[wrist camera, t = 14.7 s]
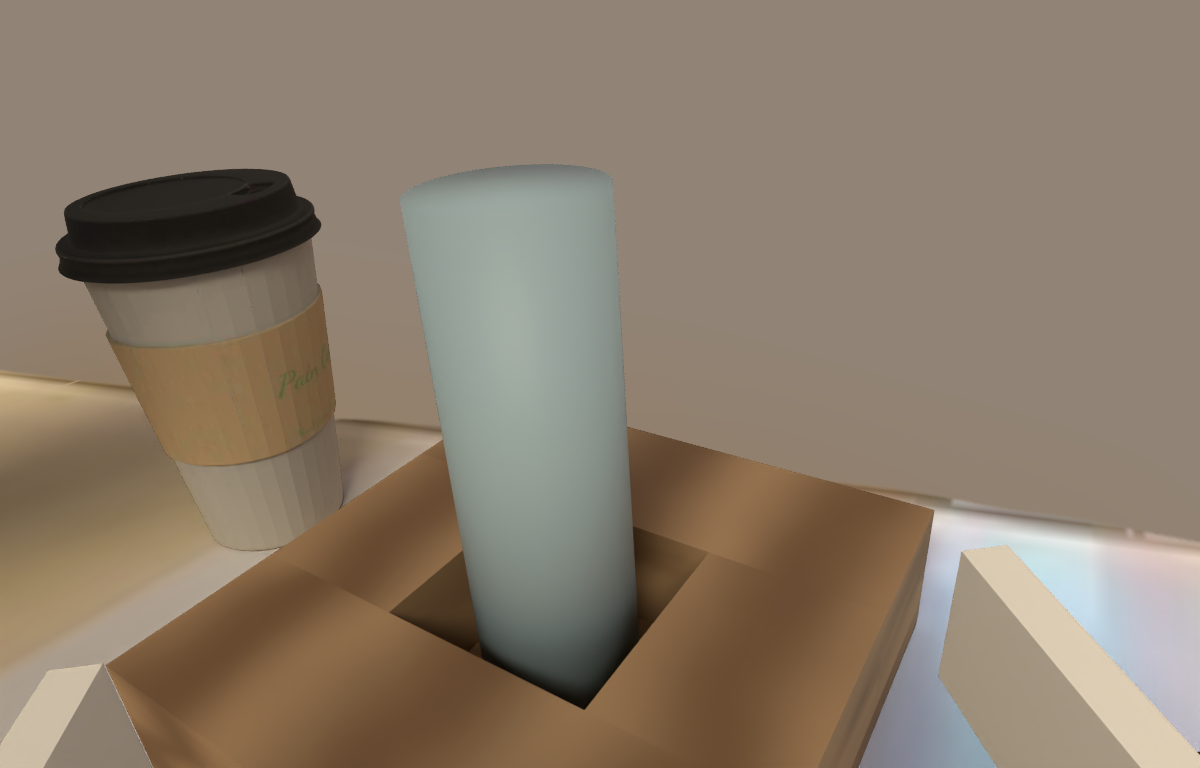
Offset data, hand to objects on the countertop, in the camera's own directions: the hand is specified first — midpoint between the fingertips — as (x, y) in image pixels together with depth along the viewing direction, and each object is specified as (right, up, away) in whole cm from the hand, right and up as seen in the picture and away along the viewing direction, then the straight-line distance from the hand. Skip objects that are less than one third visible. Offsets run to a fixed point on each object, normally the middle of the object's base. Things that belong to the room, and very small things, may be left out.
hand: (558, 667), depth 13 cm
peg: (-1, -5, +13) cm, 14 cm away
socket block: (0, -6, +14) cm, 15 cm away
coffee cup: (-14, -2, +25) cm, 29 cm away
